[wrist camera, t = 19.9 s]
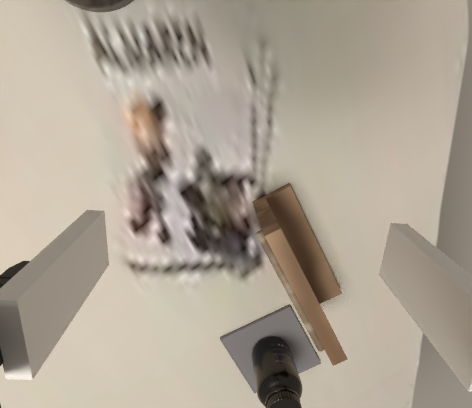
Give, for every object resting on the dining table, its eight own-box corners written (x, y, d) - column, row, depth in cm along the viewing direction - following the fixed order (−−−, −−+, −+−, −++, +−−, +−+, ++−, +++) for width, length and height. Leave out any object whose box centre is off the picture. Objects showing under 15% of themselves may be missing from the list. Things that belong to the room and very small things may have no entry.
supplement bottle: (279, 373, 59) (294, 437, 48) (244, 360, 58) (250, 423, 47) (298, 343, 58) (317, 402, 46) (262, 329, 57) (273, 386, 45)
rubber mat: (254, 390, 61) (254, 393, 60) (220, 337, 57) (220, 339, 57) (319, 360, 60) (320, 363, 59) (289, 304, 56) (290, 306, 56)
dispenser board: (300, 306, 57) (325, 368, 43) (246, 205, 51) (256, 240, 38) (338, 288, 56) (376, 345, 43) (288, 183, 51) (313, 212, 37)
